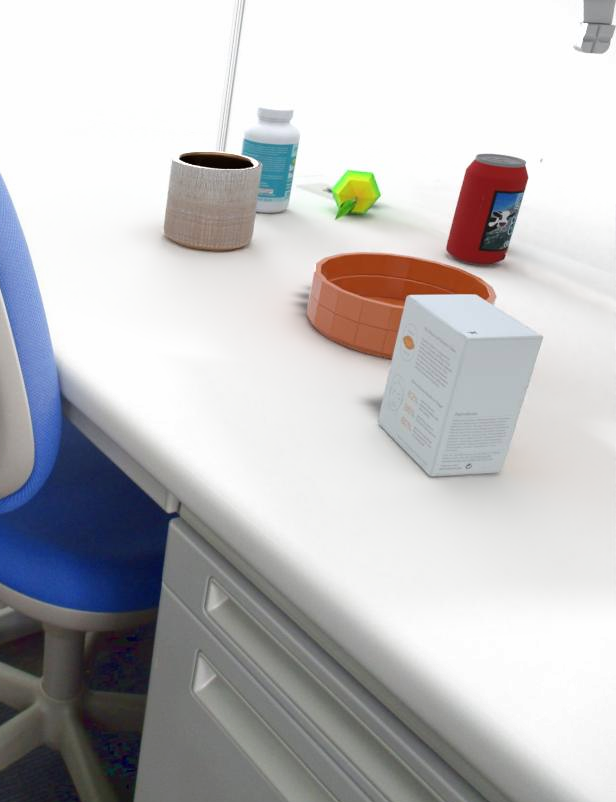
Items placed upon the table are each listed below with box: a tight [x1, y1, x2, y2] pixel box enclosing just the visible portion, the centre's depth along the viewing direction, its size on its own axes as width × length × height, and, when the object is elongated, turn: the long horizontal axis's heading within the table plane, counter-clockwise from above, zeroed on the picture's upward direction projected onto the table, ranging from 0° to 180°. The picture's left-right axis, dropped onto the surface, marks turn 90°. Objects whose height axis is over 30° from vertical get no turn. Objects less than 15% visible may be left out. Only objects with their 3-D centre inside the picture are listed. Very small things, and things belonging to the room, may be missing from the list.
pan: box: [306, 251, 497, 360], centre depth 83 cm, size 16×16×5 cm
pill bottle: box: [240, 104, 301, 214], centre depth 119 cm, size 8×7×14 cm
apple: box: [330, 169, 382, 221], centre depth 120 cm, size 7×6×9 cm
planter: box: [163, 150, 262, 252], centre depth 105 cm, size 11×11×10 cm
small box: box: [377, 294, 544, 478], centre depth 61 cm, size 8×6×10 cm
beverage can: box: [445, 153, 529, 267], centre depth 103 cm, size 7×7×12 cm
